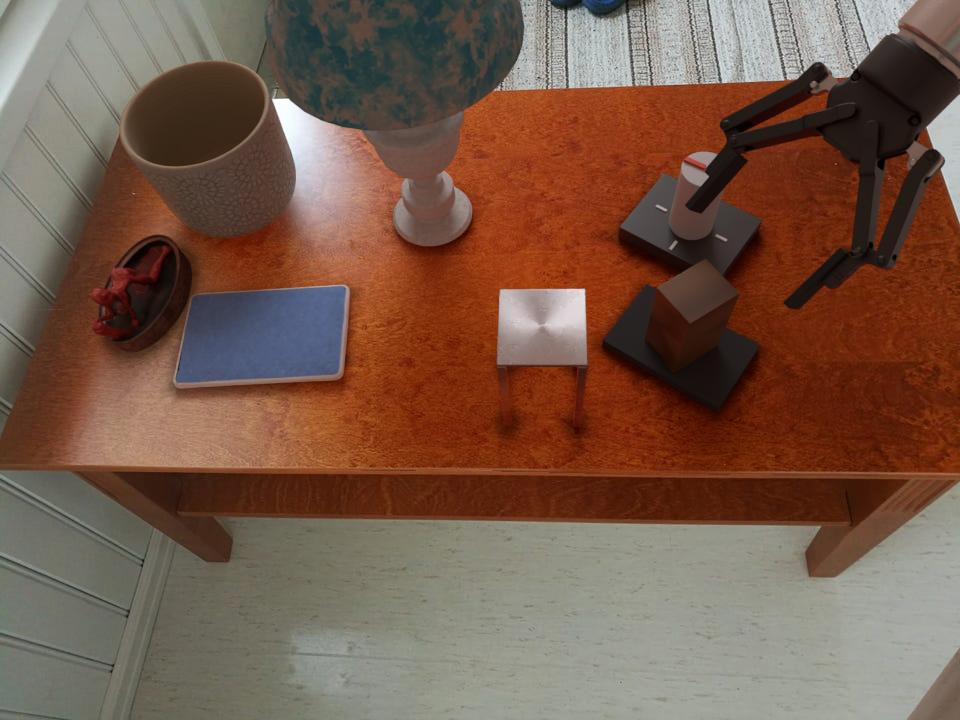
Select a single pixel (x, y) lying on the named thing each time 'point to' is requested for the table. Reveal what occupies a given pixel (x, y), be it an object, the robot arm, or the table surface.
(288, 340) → the tablet
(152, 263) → the figurine
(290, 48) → the table lamp
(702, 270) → the block
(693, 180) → the oven dial
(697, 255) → the panel
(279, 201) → the planter
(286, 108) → the table surface
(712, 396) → the mat
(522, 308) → the square metal stool
